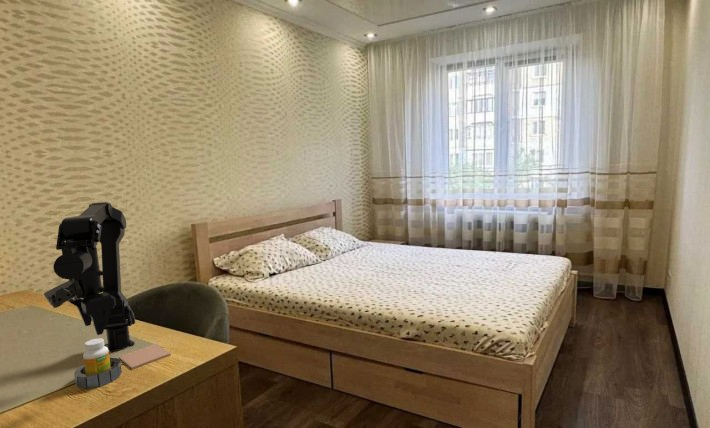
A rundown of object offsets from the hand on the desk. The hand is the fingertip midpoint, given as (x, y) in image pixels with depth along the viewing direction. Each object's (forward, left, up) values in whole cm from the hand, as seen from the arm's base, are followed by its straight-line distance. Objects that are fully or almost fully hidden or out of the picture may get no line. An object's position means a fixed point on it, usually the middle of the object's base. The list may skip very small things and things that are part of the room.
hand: (93, 329), depth 101 cm
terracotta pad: (-3, +12, -13) cm, 18 cm away
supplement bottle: (0, 0, -13) cm, 13 cm away
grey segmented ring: (0, 0, -13) cm, 13 cm away
